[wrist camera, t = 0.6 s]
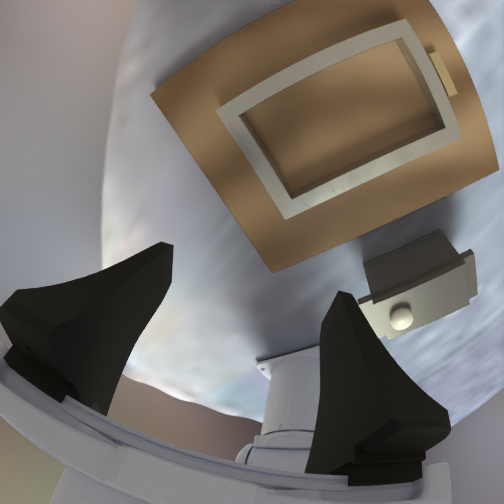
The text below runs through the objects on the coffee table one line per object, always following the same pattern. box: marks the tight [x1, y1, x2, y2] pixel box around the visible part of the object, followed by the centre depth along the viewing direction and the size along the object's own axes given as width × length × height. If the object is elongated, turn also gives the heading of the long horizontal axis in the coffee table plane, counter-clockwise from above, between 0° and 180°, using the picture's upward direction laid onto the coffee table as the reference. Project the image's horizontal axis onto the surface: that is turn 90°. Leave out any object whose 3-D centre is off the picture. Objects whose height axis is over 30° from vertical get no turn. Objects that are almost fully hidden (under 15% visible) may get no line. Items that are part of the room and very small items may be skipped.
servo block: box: [358, 229, 478, 340], centre depth 18 cm, size 4×9×6 cm, turn 123°
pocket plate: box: [150, 0, 499, 273], centre depth 15 cm, size 16×20×2 cm
